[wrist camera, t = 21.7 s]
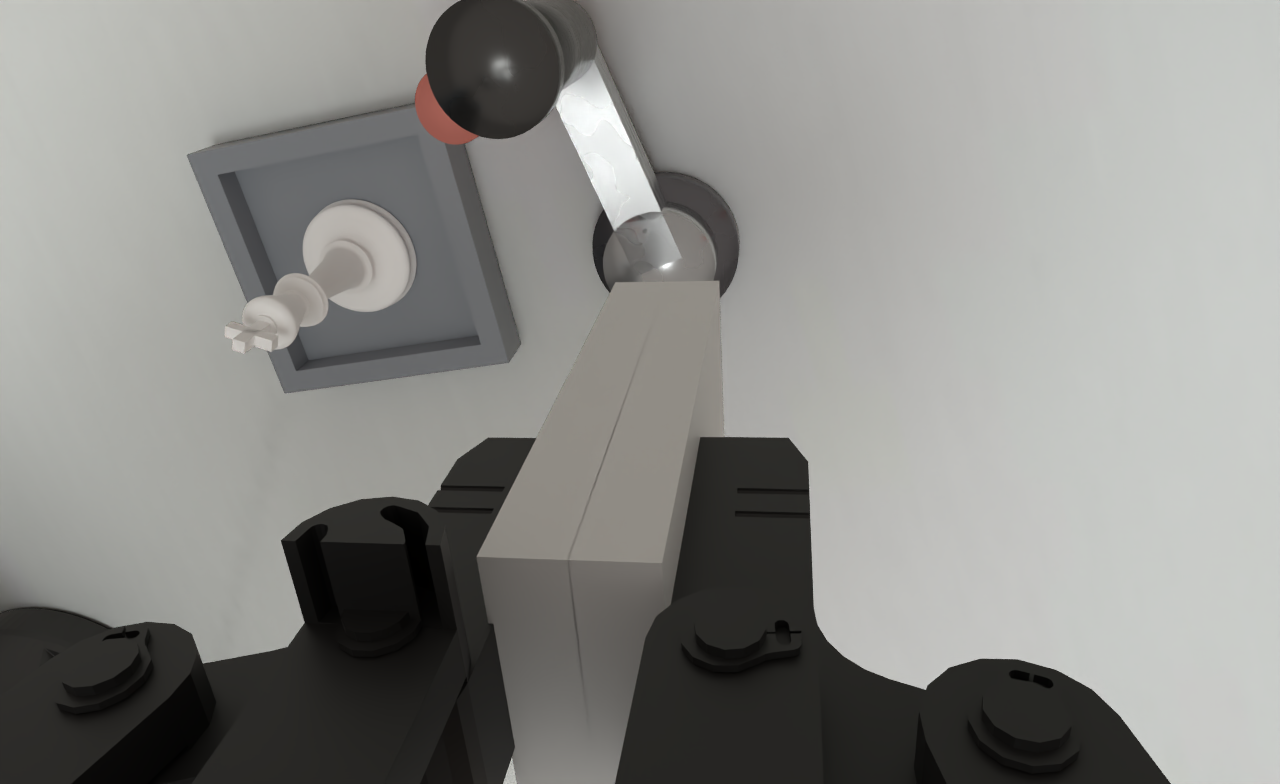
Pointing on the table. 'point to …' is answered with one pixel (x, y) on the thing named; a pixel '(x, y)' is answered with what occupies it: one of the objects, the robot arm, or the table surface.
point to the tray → (409, 190)
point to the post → (438, 117)
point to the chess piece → (332, 275)
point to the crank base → (702, 203)
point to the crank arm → (566, 122)
